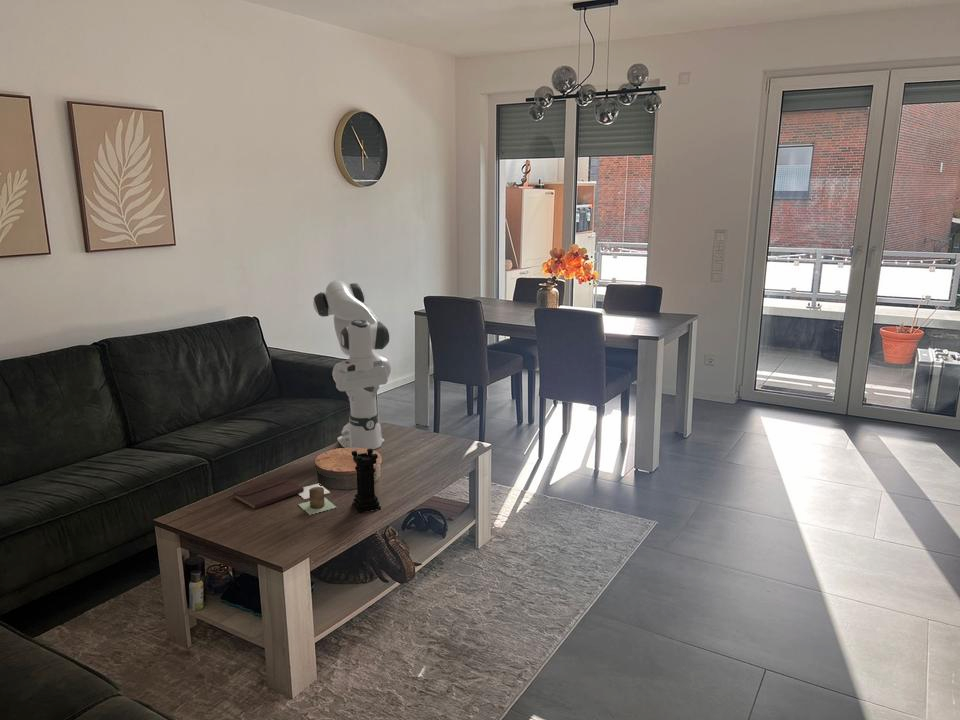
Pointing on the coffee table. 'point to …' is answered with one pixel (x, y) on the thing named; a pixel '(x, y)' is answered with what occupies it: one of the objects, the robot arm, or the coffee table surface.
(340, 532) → the coffee table surface
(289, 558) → the coffee table surface
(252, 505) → the notebook
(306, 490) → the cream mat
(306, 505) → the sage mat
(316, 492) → the brown cylinder
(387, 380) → the robot arm
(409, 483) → the coffee table surface
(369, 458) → the chess piece
